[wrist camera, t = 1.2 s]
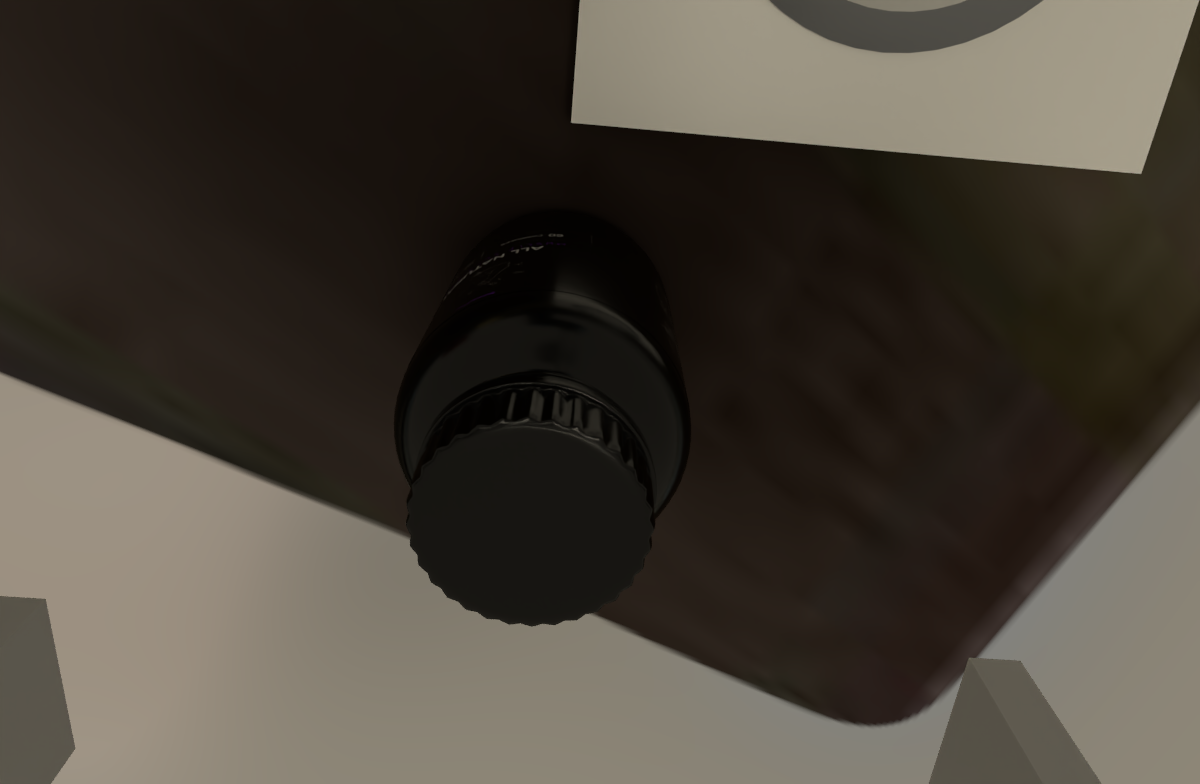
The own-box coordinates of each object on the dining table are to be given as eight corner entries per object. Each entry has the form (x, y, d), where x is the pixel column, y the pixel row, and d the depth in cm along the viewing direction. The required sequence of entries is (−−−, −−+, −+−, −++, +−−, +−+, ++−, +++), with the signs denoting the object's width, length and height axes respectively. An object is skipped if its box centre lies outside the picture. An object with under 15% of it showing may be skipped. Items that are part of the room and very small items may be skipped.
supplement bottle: (501, 166, 26) (433, 293, 15) (706, 266, 27) (785, 452, 16) (415, 362, 28) (302, 595, 17) (606, 445, 29) (615, 712, 18)
